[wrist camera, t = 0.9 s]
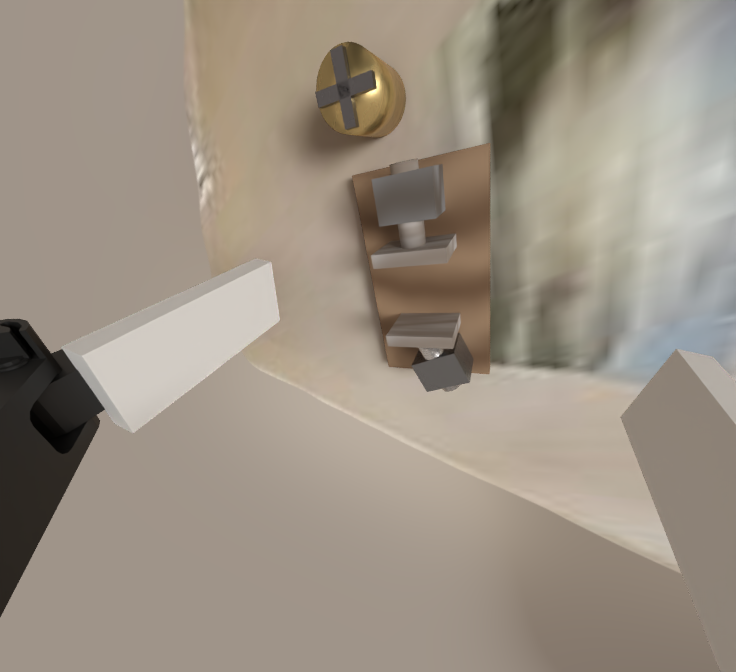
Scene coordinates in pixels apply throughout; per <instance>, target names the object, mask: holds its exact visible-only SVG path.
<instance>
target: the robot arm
mask: <svg viewBox="0 0 736 672" xmlns="http://www.w3.org/2000/svg"><path fill="white" fill-rule="evenodd" d="M279 321H280V317H279V310H278V304H277V297H276V290H275V284H274V277H273V270H272V264H271V262H270V261H266V260H261V259H256V258H255V259H253V260H251V261H249V262H246V263H244V264H242V265H240V266H238V267H235V268H233V269H231V270H229V271H227V272H224V273H222V274H220V275H218V276H216V277H213V278H211V279H209V280H207V281H205V282H202V283H200V284H198V285H196V286H194V287H191V288H190V289H187V290H185V291H183V292H181V293H178V294H176V295H174V296H172V297H170V298H167V299H165V300H163V301H161V302H158V303H156V304H154V305H152V306H150V307H147V308H145V309H143V310H141V311H139V312H136V313H134V314H132V315H130V316H128V317H125V318H123V319H121V320H119V321H117V322H114V323H112V324H110V325H108V326H106V327H104V328H101V329H99V330H97V331H95V332H92V333H90V334H88V335H86V336H84V337H81V338H79V339H77V340H75V341H73V342H70V343H68V344H66V345H64V346H62V347H61V348H62V350H59V351H57V352H54V353H50V351H49V350H48V349H47V347H46V346H45V345H44V343H43V342H42V341H41V339H40V338H39V336H38V335H37V334H36V332H35V331H34V330H33V328H32V327H31V326H30V324H29V323H28V322H27V321H26V320H21V319H5V320H0V617H1V615H2V613H3V611H4V609H5V607H6V605H7V603H8V601H9V599H10V597H11V595H12V594H13V592H14V590H15V588H16V586H17V584H18V582H19V580H20V578H21V576H22V574H23V572H24V570H25V569H26V567H27V565H28V563H29V561H30V559H31V557H32V555H33V553H34V551H35V549H36V547H37V545H38V543H39V542H40V540H41V538H42V536H43V534H44V532H45V530H46V528H47V526H48V524H49V522H50V520H51V518H52V516H53V514H54V512H55V510H56V509H57V506H58V505H59V503H60V501H61V499H62V497H63V495H64V493H65V491H66V489H67V487H68V485H69V483H70V482H71V480H72V478H73V476H74V474H75V472H76V470H77V468H78V466H79V464H80V462H81V460H82V458H83V457H84V454H85V453H86V451H87V449H88V447H89V445H90V443H91V441H92V439H93V437H94V435H95V433H96V431H97V429H98V427H99V424H100V420H99V418H98V417H97V414H99V413H100V412H102V411H103V410H105V411H106V412H107V414H108V415H109V416H110V418H111V419H112V421H113V422H114V424H116V425H118V426H120V427H122V428H124V429H126V430H128V431H130V432H132V433H134V432H135V431H137V430H138V429H139V428H141V427H142V426H143V425H145V424H146V423H147V422H148V421H150V420H151V419H152V418H154V417H155V416H156V415H158V414H159V413H160V412H161V411H163V410H164V409H165V408H167V407H168V406H169V405H171V404H172V403H173V402H175V401H176V400H177V399H178V398H180V397H181V396H182V395H184V394H185V393H186V392H188V391H189V390H190V389H191V388H193V387H194V386H195V385H197V384H198V383H199V382H201V381H202V380H203V379H204V378H206V377H207V376H208V375H210V374H211V373H212V372H214V371H215V370H216V369H217V368H219V367H220V366H221V365H223V364H224V363H225V362H227V361H228V360H229V359H231V358H232V357H233V356H234V355H236V354H237V353H238V352H240V351H241V350H242V349H244V348H245V347H246V346H247V345H249V344H250V343H251V342H253V341H254V340H255V339H257V338H258V337H259V336H260V335H262V334H263V333H264V332H266V331H267V330H268V329H270V328H271V327H272V326H273V325H275V324H276V323H277V322H279ZM621 419H622V422H623V425H624V427H625V430H626V432H627V435H628V437H629V440H630V442H631V445H632V448H633V450H634V453H635V455H636V458H637V460H638V463H639V466H640V468H641V471H642V473H643V476H644V478H645V481H646V483H647V486H648V489H649V491H650V494H651V496H652V499H653V501H654V504H655V507H656V509H657V512H658V514H659V517H660V519H661V522H662V524H663V527H664V530H665V532H666V535H667V537H668V540H669V542H670V545H671V548H672V550H673V553H674V555H675V558H676V560H677V563H678V565H679V568H680V571H681V573H682V576H683V578H684V581H685V583H686V586H687V589H688V591H689V594H690V596H691V599H692V601H693V604H694V606H695V609H696V612H697V614H698V617H699V619H700V622H701V624H702V627H703V629H704V632H705V635H706V637H707V640H708V642H709V645H710V647H711V650H712V652H713V655H714V658H715V660H716V663H717V665H718V668H719V671H720V672H736V382H735V380H734V379H733V378H732V377H731V376H730V375H729V374H728V373H727V372H726V371H725V370H724V369H723V368H722V366H721V365H720V364H719V363H718V362H717V361H716V360H715V359H714V358H713V357H711V356H707V355H702V354H697V353H693V352H688V351H683V350H679V349H676V350H675V351H674V352H673V353H672V355H671V356H670V357H669V358H668V360H667V361H666V362H665V363H664V365H663V366H662V367H661V368H660V369H659V371H658V372H657V373H656V374H655V376H654V377H653V378H652V379H651V380H650V382H649V383H648V384H647V385H646V387H645V388H644V389H643V390H642V391H641V393H640V394H639V395H638V396H637V398H636V399H635V400H634V401H633V402H632V404H631V405H630V406H629V407H628V409H627V410H626V411H625V412H624V413H623V415H622V416H621Z"/></svg>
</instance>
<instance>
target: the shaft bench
mask: <svg viewBox="0 0 736 672" xmlns="http://www.w3.org/2000/svg"><path fill="white" fill-rule="evenodd" d="M352 178H353V183H354V189H355V194H356V199H357V204H358V209H359V215H360V220H361V225H362V230H363V235H364V241H365V246H366V251H367V256H368V261H369V266H370V272H371V277H372V282H373V287H374V292H375V298H376V303H377V308H378V313H379V318H380V324H381V329H382V334H383V339H384V344H385V350H386V355H387V360H388V365H389V367H399V368H412V366H411V365H412V363H413V361H414V359H415V357H416V355H417V352H418V350H419V348H440V349H453V348H454V344H455V341H456V337H457V334H458V333H460V334H461V336H462V338H463V340H464V342H465V343H466V345H467V347H468V349H469V351H470V353H471V355H472V357H473V359H474V360H473V366H472V372H471V373H479V374H489V373H490V143H488V144H483V145H479V146H475V147H471V148H467V149H462V150H458V151H454V152H450V153H446V154H441V155H437V156H433V157H429V158H425V159H420V160H418V159H413V160H408V161H403V162H399V163H395V164H391V165H390V167H387V168H383V169H378V170H374V171H370V172H366V173H362V174H358V175H353V176H352Z"/></svg>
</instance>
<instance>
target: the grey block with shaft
mask: <svg viewBox="0 0 736 672" xmlns="http://www.w3.org/2000/svg"><path fill="white" fill-rule="evenodd" d="M473 360H474V359H473V357H472V355H471V353H470V351H469V349H468V347H467V345H466V343H465V342H464V340H463V338H462V336H461V334H460V333H458V334H457V337H456V341H455V344H454V348H453V349H440V348H419V350H418V352H417V355H416V357H415V359H414V361H413V363H412V365H411V366H412V368H413V369H414V371H415V373H416V374H417V376H418V378H419V379H420V381H421V383H422V384H423V386H424V388H425V389H426V391H427V392H429V391H433V390H438V389H443V390H444V391H452V390H455V389H456V388H458V387H459V386H460V385H461V384H465V383H470V377H471V372H472V366H473Z"/></svg>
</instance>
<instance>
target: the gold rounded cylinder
mask: <svg viewBox="0 0 736 672" xmlns="http://www.w3.org/2000/svg"><path fill="white" fill-rule="evenodd" d="M315 93H316V98H317V102H318V107H319V109H320V111H321V114H322V116H323V118H324V119H325V121H326V122H327V123H328V125H329V126H330V127H331V128H332V129H334V130H335V131H337V132H339V133H342V134H348V135H357V136H366V137H375V138H379V137H383V136H386V135H388V134H389V133H391V132H392V131H393V130H394V129H395V128H396V127H397V125H398V124H399V122H400V120H401V118H402V116H403V113H404V109H405V102H406V95H405V88H404V84H403V81H402V79H401V77H400V75H399V74H398V73H397V72H396V71H395V70H394V69H393V68H392V67H391V66H389V65H388V64H386V63H385V62H384V61H382V60H381V59H379V58H378V57H377V56H375V55H374V54H372V53H371V52H370V51H368V50H367V49H365V48H364V47H363V46H361V45H359V44H357V43H353V42H344V43H341V44H338V45H337V46H335V47H334V48H333V49H331V50H330V51H329V52H328V54H327V55H326V56H325V58H324V60H323V62H322V64H321V66H320V69H319V72H318V77H317V85H316V92H315Z"/></svg>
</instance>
